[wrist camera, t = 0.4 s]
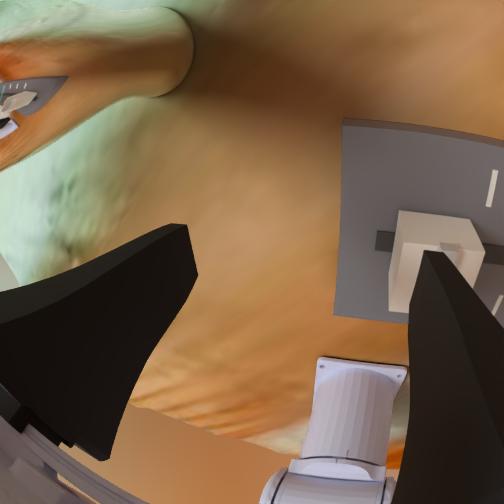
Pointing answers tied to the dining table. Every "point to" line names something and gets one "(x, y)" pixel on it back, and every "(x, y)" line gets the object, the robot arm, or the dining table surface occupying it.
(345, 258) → the console
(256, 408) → the dining table surface
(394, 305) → the fader tab
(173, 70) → the beer glass
